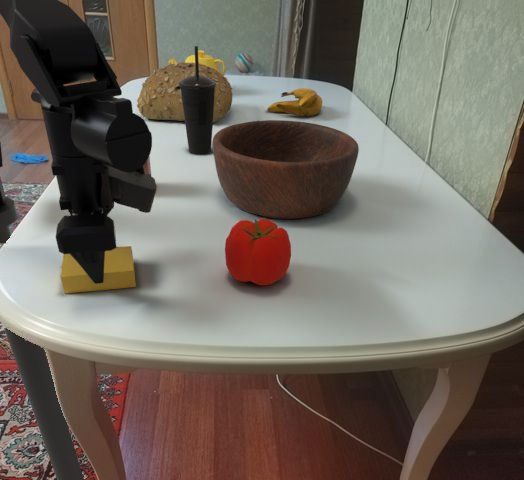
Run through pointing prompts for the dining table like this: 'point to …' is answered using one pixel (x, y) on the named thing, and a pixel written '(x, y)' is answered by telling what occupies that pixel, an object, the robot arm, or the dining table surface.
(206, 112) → the drinking cup
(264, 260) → the tomato
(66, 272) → the block
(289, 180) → the wooden bowl
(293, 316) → the dining table surface
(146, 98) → the bread
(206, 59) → the teapot
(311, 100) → the banana
